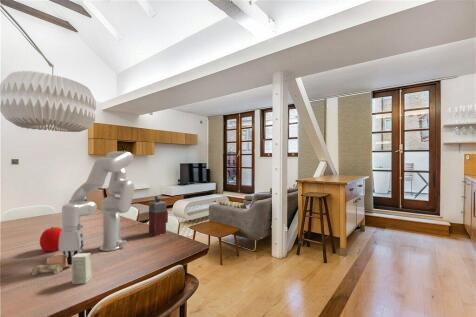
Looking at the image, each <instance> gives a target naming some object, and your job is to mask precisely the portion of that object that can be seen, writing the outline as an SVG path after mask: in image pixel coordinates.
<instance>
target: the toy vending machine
mask: <svg viewBox="0 0 476 317" xmlns="http://www.w3.org/2000/svg"><path fill="white" fill-rule="evenodd" d="M168 219H169V212H168V209H167V202H166V201H162V200H161V196H160V195H154V201H150V202H149V203H148V235H150V234H152V235H154V236H153V237H155V236H156V237H158V236H157V235H159V236H161V235H160V234H163V235H165V234H164V233H166V234H167V224H168V223H169V221H168ZM152 235H151V236H152Z"/></svg>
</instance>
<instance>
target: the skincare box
mask: <svg viewBox="0 0 476 317" xmlns="http://www.w3.org/2000/svg"><path fill="white" fill-rule="evenodd" d="M71 273H72V274H71V278H72V280H71V281H72V282H71V283H72V284H73V285H78V284H79V285H80V284H81V285H83V284H84V285H85V284H87V283H88V282H90V281H91V280H92V254H91V252H79V253H77V254H76V255H74V256H73V257H72V265H71Z"/></svg>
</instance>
